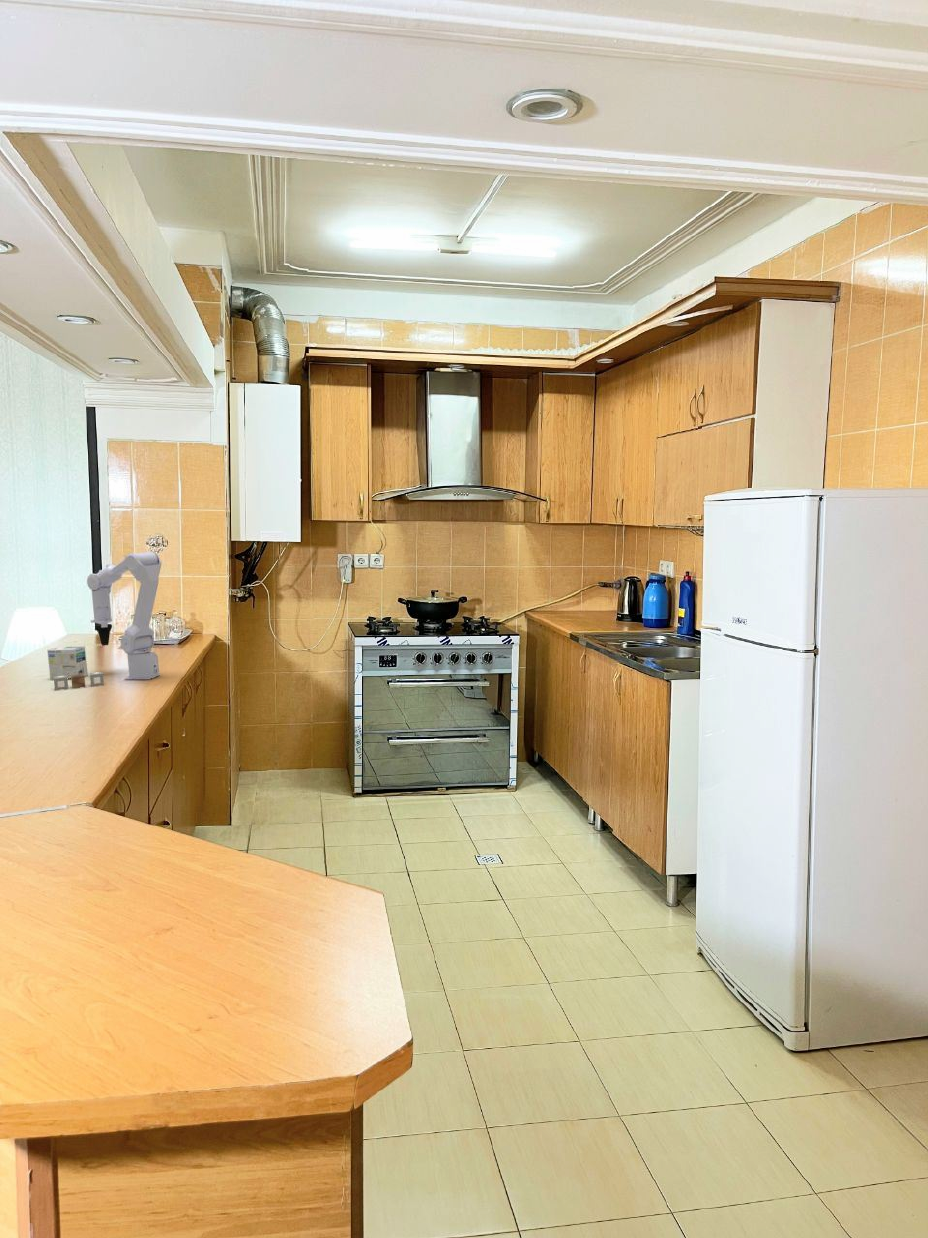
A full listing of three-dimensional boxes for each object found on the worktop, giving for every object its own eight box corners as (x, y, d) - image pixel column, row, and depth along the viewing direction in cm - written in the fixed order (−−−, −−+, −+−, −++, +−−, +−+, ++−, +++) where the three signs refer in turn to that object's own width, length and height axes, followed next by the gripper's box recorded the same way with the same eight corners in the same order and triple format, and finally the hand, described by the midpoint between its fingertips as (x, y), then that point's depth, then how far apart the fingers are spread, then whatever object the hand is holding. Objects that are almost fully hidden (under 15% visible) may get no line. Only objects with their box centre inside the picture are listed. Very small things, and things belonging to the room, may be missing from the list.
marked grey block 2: (103, 683, 301) (102, 671, 300) (104, 685, 297) (102, 673, 296) (90, 684, 299) (89, 672, 298) (91, 687, 295) (89, 674, 295)
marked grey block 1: (68, 687, 296) (66, 674, 296) (68, 689, 293) (67, 677, 292) (55, 688, 295) (53, 676, 294) (54, 690, 291) (53, 678, 290)
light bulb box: (88, 675, 315) (85, 645, 314) (78, 679, 308) (75, 649, 307) (60, 676, 316) (57, 646, 315) (49, 679, 310) (46, 649, 308)
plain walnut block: (85, 685, 298) (84, 673, 298) (85, 687, 295) (84, 675, 294) (72, 686, 297) (71, 675, 296) (72, 688, 293) (71, 677, 292)
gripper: (88, 606, 319) (92, 643, 321) (90, 610, 306) (93, 649, 308) (109, 604, 322) (112, 641, 324) (112, 608, 309) (115, 647, 311)
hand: (105, 645), depth 316 cm, fingers closed
